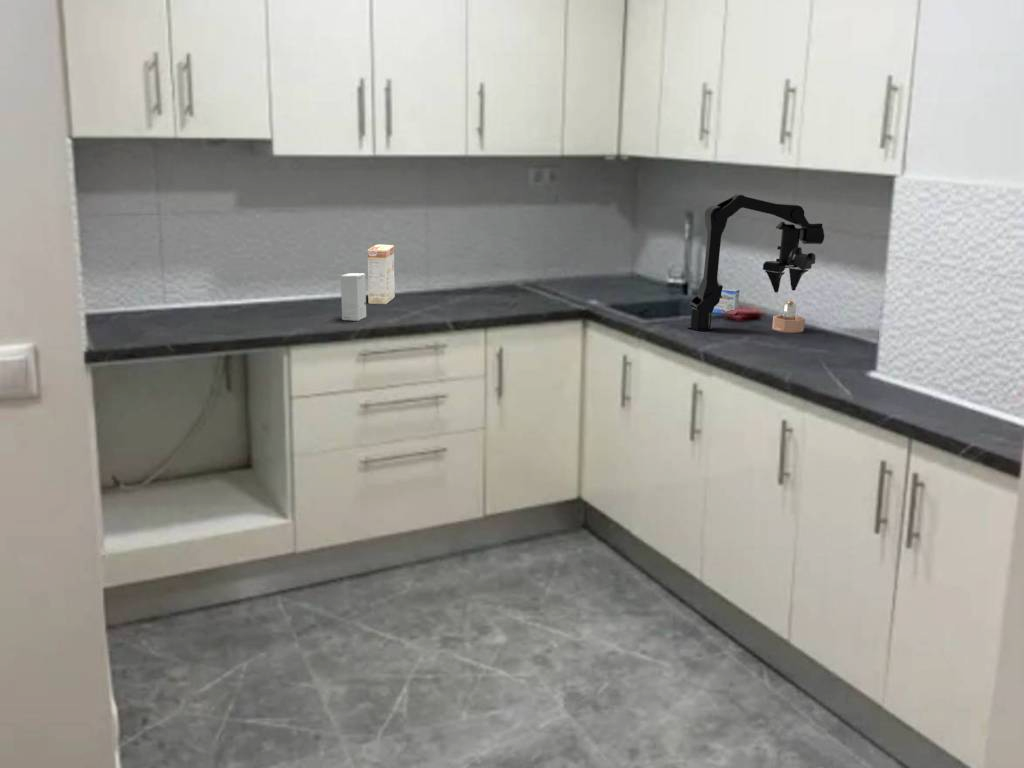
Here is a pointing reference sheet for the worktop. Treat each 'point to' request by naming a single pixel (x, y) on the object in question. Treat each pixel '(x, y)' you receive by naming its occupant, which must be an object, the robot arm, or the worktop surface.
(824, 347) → the worktop surface
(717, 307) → the medicine box
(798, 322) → the cup
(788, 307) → the battery cell
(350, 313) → the skincare box
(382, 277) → the coffeecake box
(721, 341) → the worktop surface
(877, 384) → the worktop surface
